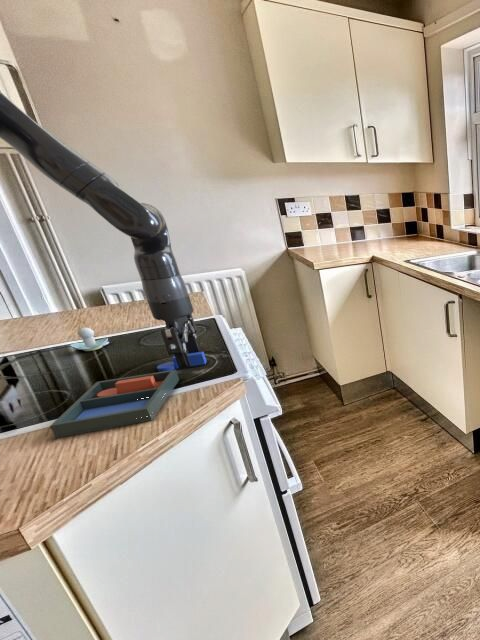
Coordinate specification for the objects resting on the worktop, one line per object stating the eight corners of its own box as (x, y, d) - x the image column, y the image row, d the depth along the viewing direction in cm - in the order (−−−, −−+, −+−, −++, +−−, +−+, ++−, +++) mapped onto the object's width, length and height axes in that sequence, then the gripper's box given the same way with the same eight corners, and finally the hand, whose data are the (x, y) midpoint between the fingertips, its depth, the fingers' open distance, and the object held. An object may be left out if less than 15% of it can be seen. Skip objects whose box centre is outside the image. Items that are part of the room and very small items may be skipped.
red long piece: (95, 402, 85) (89, 389, 84) (103, 393, 88) (98, 382, 87) (153, 392, 88) (148, 380, 87) (159, 384, 91) (154, 373, 90)
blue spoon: (155, 373, 98) (151, 362, 97) (161, 367, 101) (157, 356, 100) (204, 366, 102) (200, 355, 100) (207, 360, 105) (204, 349, 104)
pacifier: (77, 348, 113) (72, 355, 109) (67, 326, 111) (62, 332, 106) (113, 342, 117) (110, 348, 113) (104, 320, 115) (101, 326, 110)
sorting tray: (55, 438, 75) (49, 426, 74) (101, 392, 90) (96, 381, 89) (152, 420, 80) (147, 408, 79) (179, 379, 95) (175, 369, 94)
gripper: (158, 290, 100) (180, 352, 106) (135, 306, 88) (161, 375, 94) (195, 286, 103) (214, 347, 109) (178, 302, 91) (201, 369, 97)
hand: (190, 360), depth 102 cm, fingers open, 8 cm apart
